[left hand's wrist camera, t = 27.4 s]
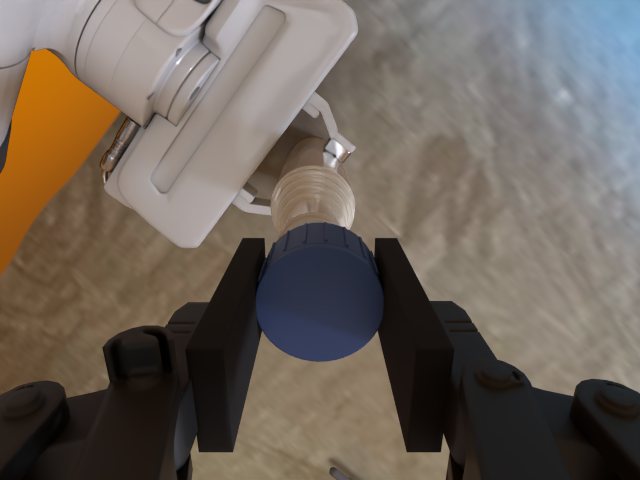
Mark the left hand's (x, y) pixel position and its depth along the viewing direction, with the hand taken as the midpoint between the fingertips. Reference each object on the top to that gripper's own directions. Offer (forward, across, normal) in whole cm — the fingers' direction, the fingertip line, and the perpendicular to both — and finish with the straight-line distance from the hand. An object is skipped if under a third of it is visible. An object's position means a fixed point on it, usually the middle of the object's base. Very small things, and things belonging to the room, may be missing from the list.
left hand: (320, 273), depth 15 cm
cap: (-2, 0, 0) cm, 2 cm away
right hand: (+17, 0, 0) cm, 17 cm away
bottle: (+23, +1, 0) cm, 23 cm away
